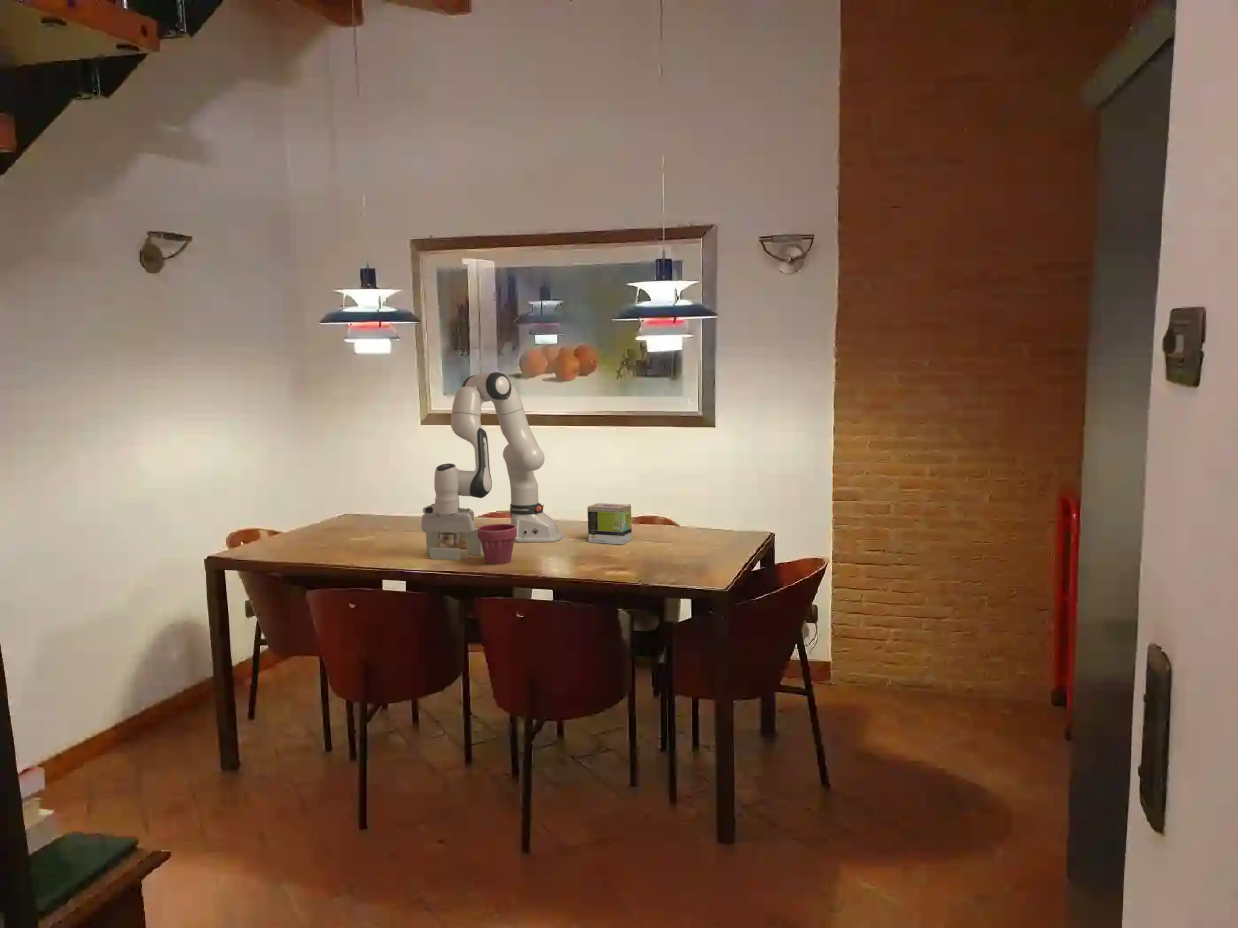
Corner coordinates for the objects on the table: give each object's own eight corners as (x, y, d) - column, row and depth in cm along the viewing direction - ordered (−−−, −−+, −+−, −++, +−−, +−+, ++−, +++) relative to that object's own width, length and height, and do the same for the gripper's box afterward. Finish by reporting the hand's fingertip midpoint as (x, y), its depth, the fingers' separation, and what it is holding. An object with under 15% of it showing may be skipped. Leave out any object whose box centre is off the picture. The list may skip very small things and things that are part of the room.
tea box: (632, 540, 372) (631, 503, 370) (622, 545, 363) (621, 508, 361) (598, 537, 378) (597, 501, 376) (587, 542, 369) (586, 505, 367)
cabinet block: (457, 548, 349) (457, 532, 348) (451, 551, 344) (451, 535, 343) (445, 547, 350) (444, 532, 350) (439, 551, 345) (438, 535, 344)
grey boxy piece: (483, 554, 351) (482, 528, 350) (472, 560, 341) (471, 533, 340) (429, 552, 356) (427, 526, 355) (417, 558, 346) (416, 531, 345)
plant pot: (480, 557, 346) (479, 523, 344) (518, 556, 347) (517, 522, 345) (477, 566, 331) (475, 531, 330) (516, 565, 332) (515, 530, 331)
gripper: (476, 507, 346) (478, 543, 348) (426, 505, 351) (427, 541, 353) (470, 510, 340) (471, 547, 342) (418, 508, 345) (420, 545, 347)
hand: (449, 544), depth 347 cm, fingers closed on cabinet block, 5 cm apart
